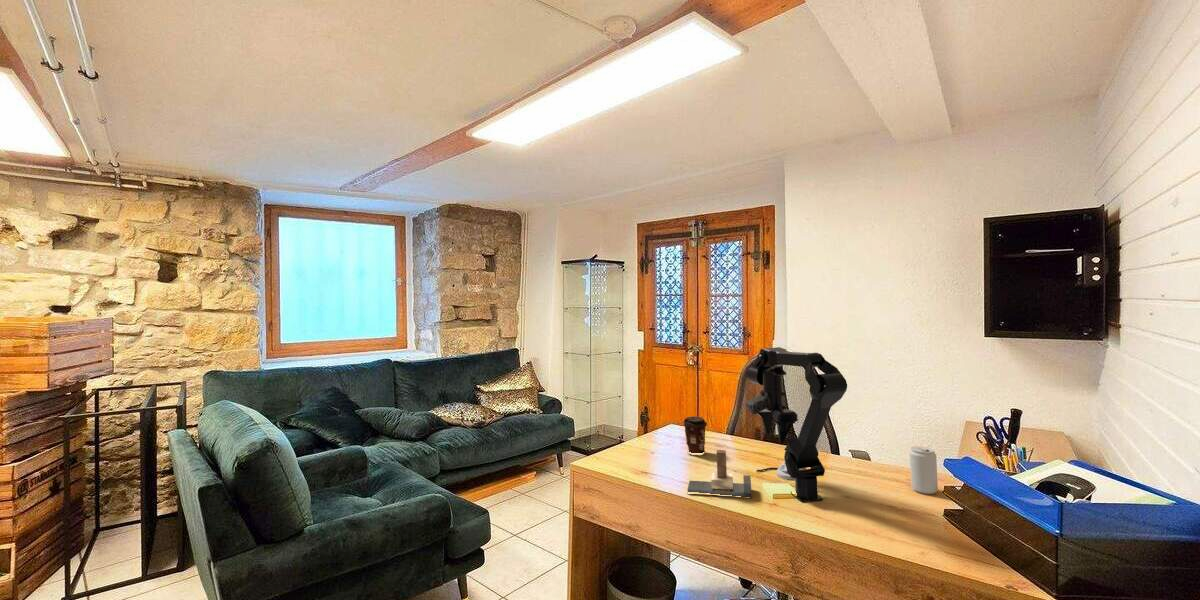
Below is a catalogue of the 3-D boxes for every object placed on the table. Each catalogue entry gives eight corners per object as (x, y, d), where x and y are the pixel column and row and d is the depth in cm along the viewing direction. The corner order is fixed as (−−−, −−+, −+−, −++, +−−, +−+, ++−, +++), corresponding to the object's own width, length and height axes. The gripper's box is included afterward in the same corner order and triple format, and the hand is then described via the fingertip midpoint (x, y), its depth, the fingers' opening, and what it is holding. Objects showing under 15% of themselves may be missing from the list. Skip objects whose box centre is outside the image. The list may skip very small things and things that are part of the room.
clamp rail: (750, 489, 148) (750, 475, 148) (751, 498, 141) (751, 484, 141) (689, 485, 153) (689, 472, 153) (687, 494, 146) (687, 480, 146)
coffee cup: (679, 454, 183) (678, 418, 183) (692, 448, 189) (691, 414, 189) (699, 458, 177) (698, 422, 177) (712, 453, 183) (710, 417, 183)
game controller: (796, 482, 153) (796, 476, 153) (754, 476, 160) (754, 470, 160) (804, 467, 166) (804, 461, 166) (765, 462, 172) (765, 456, 172)
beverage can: (925, 496, 138) (924, 453, 138) (905, 488, 144) (904, 447, 144) (943, 493, 139) (941, 450, 139) (923, 485, 146) (921, 444, 146)
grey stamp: (733, 481, 149) (731, 448, 149) (732, 489, 143) (731, 455, 143) (712, 480, 150) (711, 447, 150) (711, 488, 145) (710, 454, 145)
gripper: (736, 384, 162) (737, 432, 163) (761, 395, 144) (763, 449, 144) (768, 382, 164) (770, 429, 164) (797, 393, 145) (799, 446, 145)
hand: (774, 438), depth 154 cm, fingers open, 9 cm apart
